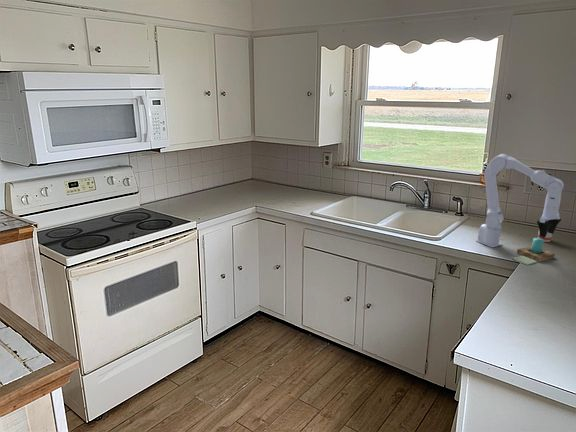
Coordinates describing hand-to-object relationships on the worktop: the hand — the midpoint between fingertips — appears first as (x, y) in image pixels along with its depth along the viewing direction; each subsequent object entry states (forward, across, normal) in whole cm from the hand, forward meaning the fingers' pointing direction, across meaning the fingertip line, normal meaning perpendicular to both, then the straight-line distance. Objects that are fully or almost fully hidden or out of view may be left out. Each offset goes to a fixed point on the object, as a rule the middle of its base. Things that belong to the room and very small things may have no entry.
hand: (546, 234), depth 201 cm
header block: (+10, -2, +2) cm, 11 cm away
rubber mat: (+10, -13, +2) cm, 17 cm away
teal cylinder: (+10, -2, +2) cm, 11 cm away
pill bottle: (+11, +22, +10) cm, 26 cm away
